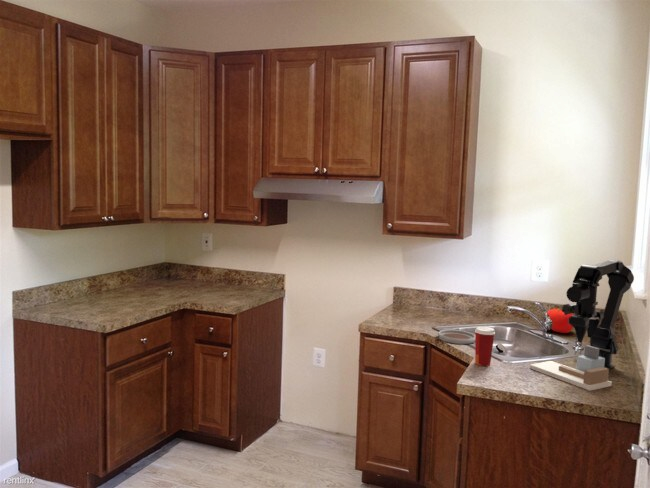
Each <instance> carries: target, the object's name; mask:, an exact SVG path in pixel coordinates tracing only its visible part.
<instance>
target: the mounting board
mask: <svg viewBox="0 0 650 488" xmlns="http://www.w3.org/2000/svg"><path fill="white" fill-rule="evenodd" d="M529 369H531V370H534V371H536V372H539V373H541V374H544V375H547V376H550V377H552V378H554V379H557V380H560V381H563V382H566V383H568V384H571V385H573V386H575V387H579V388H581V389H584V390H586V391H590V392H591V391H594V390H595V391H596V390H599V389H603V388H608V387H612V383H613V381H610V380H609V373H610V372H609V371H610V368H609V369H607V368H604V367H599V368H594V369H589V370H585V371H584V372H582V371H579V370H577V368H573V367H571V366H567V365H564V364H562V363H559V362H556V361H552V360H547V361H543V362H536V363H531V364H529Z"/></svg>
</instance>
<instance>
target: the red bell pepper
mask: <svg viewBox="0 0 650 488" xmlns="http://www.w3.org/2000/svg"><path fill="white" fill-rule="evenodd" d="M546 313H547V314H548V315H549V317H550V319H551V320H552V321H553V325H552V330H553V332H557V333H559V334H560V333H561V334H567V333H570V332H571V331H572V330H573V329H574V327H573V326H572V325H570V324H569V323H568V318H569V317H571V316H573V315H574V313H572V314H568V315H564V312H562V307H560V308H558V307H557V308H551V309H549V310H547V312H546ZM552 330H551V331H552Z"/></svg>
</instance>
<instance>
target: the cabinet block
mask: <svg viewBox="0 0 650 488" xmlns="http://www.w3.org/2000/svg"><path fill="white" fill-rule="evenodd" d="M604 364H605V358H603V357H599V348H596V347H593V346H590V344H589V345H588V344H586V345H584V352H583V354H582V355H578V356H577V359H576V370H579V371H582V372H584V371H585V370H589V369H594V368H599V367H604Z"/></svg>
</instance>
